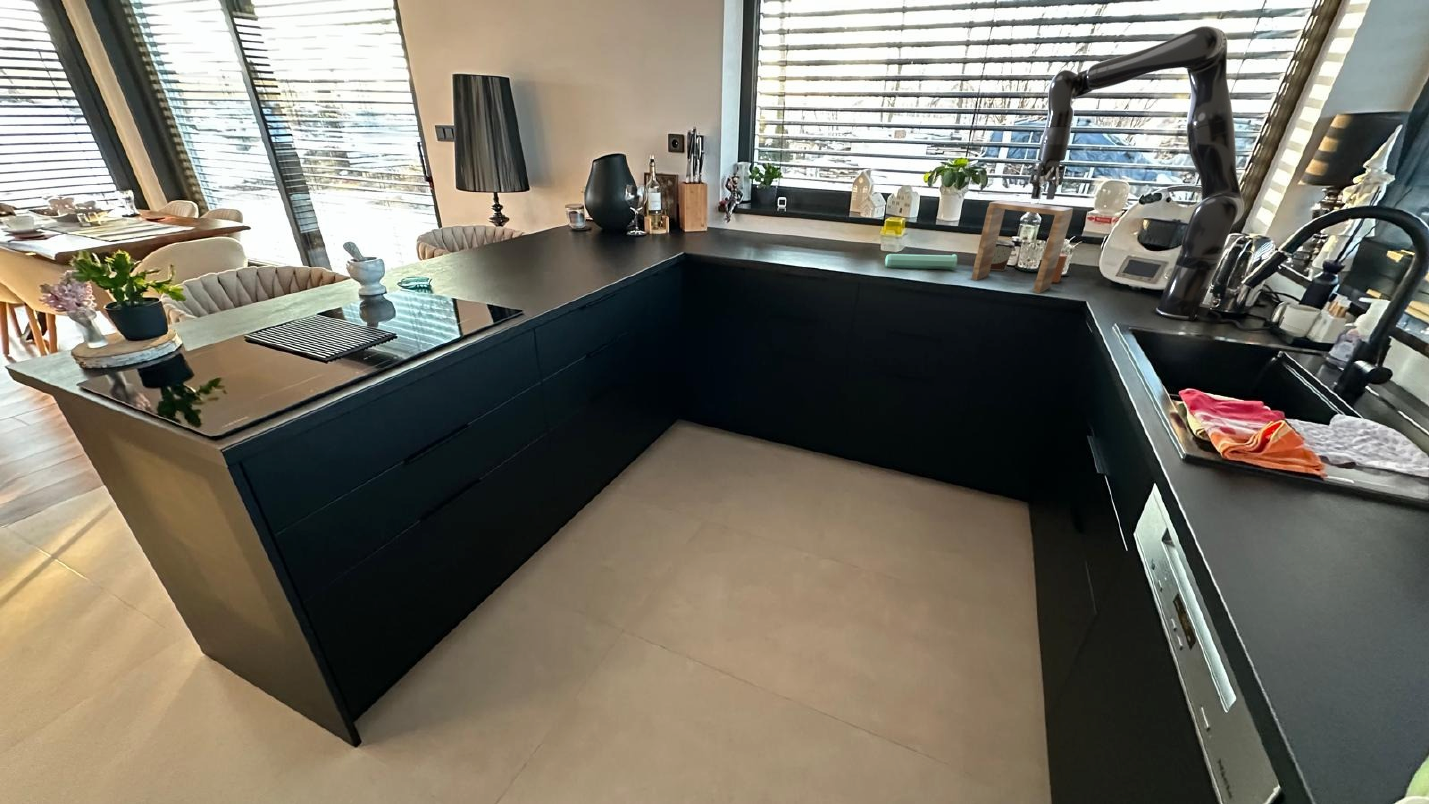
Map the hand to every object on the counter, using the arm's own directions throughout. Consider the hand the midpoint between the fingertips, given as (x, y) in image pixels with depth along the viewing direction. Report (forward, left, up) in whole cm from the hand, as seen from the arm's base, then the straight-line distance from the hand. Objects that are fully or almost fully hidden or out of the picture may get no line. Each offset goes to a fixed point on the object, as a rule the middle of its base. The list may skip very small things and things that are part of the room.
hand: (1042, 199), depth 180 cm
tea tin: (-7, -11, -27) cm, 30 cm away
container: (+32, +10, -27) cm, 44 cm away
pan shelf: (+1, +5, -27) cm, 28 cm away
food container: (+15, -12, -27) cm, 33 cm away
